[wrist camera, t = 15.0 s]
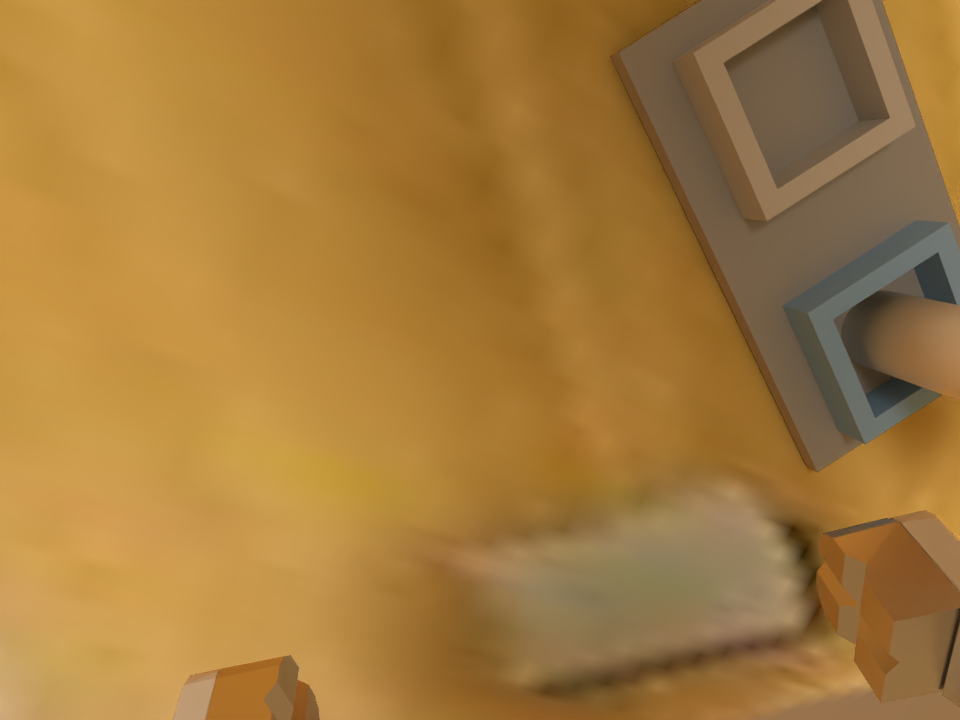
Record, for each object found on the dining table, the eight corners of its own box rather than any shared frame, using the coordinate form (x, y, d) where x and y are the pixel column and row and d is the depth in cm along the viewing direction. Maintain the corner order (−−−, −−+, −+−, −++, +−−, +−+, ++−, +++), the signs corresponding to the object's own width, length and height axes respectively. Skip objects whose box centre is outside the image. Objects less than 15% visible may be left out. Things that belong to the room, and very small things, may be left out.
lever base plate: (610, 56, 31) (636, 44, 28) (834, -85, 31) (883, -111, 28) (805, 465, 38) (842, 487, 36) (986, 348, 39) (1037, 361, 36)
